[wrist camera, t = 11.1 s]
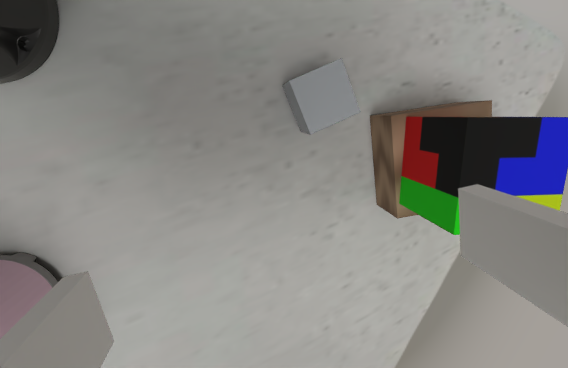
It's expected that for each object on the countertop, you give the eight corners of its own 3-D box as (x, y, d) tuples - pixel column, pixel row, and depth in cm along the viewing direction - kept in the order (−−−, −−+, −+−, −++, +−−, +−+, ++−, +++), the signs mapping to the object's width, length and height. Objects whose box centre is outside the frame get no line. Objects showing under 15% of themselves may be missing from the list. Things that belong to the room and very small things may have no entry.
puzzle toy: (488, 116, 37) (577, 117, 27) (477, 201, 39) (555, 229, 29) (406, 116, 35) (468, 117, 26) (399, 203, 37) (453, 234, 28)
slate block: (282, 85, 39) (289, 80, 33) (326, 66, 39) (341, 57, 33) (300, 131, 40) (310, 134, 35) (343, 112, 41) (360, 112, 35)
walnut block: (369, 115, 41) (390, 115, 35) (457, 102, 42) (491, 100, 36) (376, 204, 44) (397, 218, 38) (458, 189, 45) (491, 201, 39)
